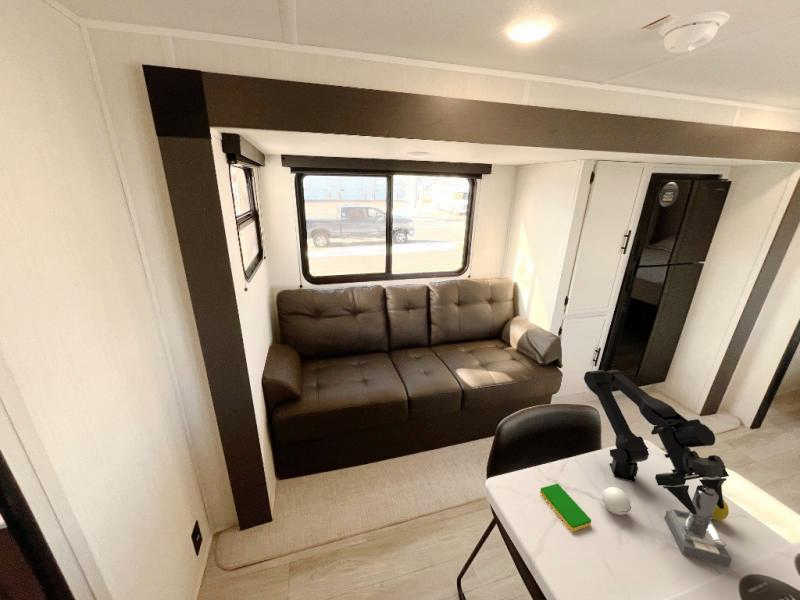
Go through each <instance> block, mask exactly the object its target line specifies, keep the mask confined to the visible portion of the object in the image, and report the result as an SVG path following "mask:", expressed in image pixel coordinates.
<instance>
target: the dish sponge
mask: <svg viewBox="0 0 800 600" xmlns="http://www.w3.org/2000/svg"><path fill="white" fill-rule="evenodd" d="M540 493H541V494H542V495H541V494H540ZM539 494H540V495H541V496H543V497H544V498H545V499H546V500H547V502H548V503H549V504H550V505H549V504H548V503H547V502H546V503H547V504H548V505H549V506H550V508H551V507H552V508H553V509H554V510H553V509H552V508H551V509H552V510H553V511H554V512H555V514H556V513H557V514H556V515H557V516H558V517H559V518H561V519H562V520H563V521H562V520H561V519H560V520H561V521H562V522H563V523H564V525H565V524H566V525H565V526H566V527H567V528H568V530H569V529H570V530H569V531H570V532H573V533H574V532H576V530H577V531H579V529H580V530H583V529H585V527H586V528H589V527H591V524H592V519H591V518H590V517H589V516H588V514H586V512H585V511H584V510H583V509H582V508H581V507H580V506H579V504H578V503H576V501H575V500H573V498H572V497H571V496H570V495H569V494H568V493H567V492H566V491H565V489H563V487H562V486H561V485H560V484H559V483H554V484H550V485H547V486H543V487H540V491H539ZM543 497H542V498H543ZM544 498H543V499H544ZM545 499H544V500H545ZM546 500H545V501H546ZM588 526H589V527H588ZM582 528H583V529H582Z"/></svg>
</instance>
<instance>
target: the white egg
mask: <svg viewBox="0 0 800 600" xmlns="http://www.w3.org/2000/svg"><path fill="white" fill-rule="evenodd" d="M601 495H602V497H601V498H602V502H603V504H604V505H603V506H604V507H605V508H606V509H607V510H608V511H609V512H611V513H613V514H615V515H618V516H624V515H625V514H628V513H629V512H630V511H631V510H632V506H631V500H630V498H629V496H628V494H626V492H624V491H623V490H622V489H620V488H618V487H616V486H615V487H613V486H609V487H607V488H605V489H604V490H603V492H602V494H601Z"/></svg>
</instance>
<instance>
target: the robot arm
mask: <svg viewBox="0 0 800 600" xmlns="http://www.w3.org/2000/svg"><path fill="white" fill-rule="evenodd" d="M583 380H584V383H585V385H586V387H587V388H588V389H589V391H591V392H592V393H593V394H595V395H596V396H597V399H598V400H599V402H600V404H601V407H602V409H603V410H604V413H605V415H606V418H607V420H608V422H609V423H610V425H611V427H612V430H613V432H614V434H615V443H614V444H615V448H612V449H609V456H610V457H611V458H612V461H611V463H609V466H610V470H611V472H612V475H613V477H614V478H615V479H621V480H625V481H630V482H634V483H636V481H637V479H636V478H637V474H638V471H639V466H638V463H641V462H645V461H648V458H649V456H650V454H649V451H648V450H649V447H648V446H647V445H646V443H645V441H644V439H643V437H642V436H641V435H640V436H637V435H636V434H634V433H633V432H632V430H631V428H630V426H629V424H628V422H627V420H626V417H625V416H624V414H623V413H622V410H621V408H620V406H619V404H618V402H617V400H616V398H615V396H614V394H613V392H612V391H613V390H612V389H613V386H614V387H615V388H617V389H618V390H619V391H620V392H621V393H622V394H624V395H625V396H626V397H627V398H628V399H629V400H630V401H631V402H633V403H634V404H635V405H636V406H637V407H638V411H639V413H640V415H641V416H643V418H644V419H645V420H646V421H647V422H648V423H649V424H650V425H652V426H653V429H652V430H651V432H650V434H651V435H658V437H659V439H660V441H661V443H662V445H663V447H664V449H665V452H666V453H664V454H663V455H664V456H665V459H670V461H671V464H672V466H673V469H671V471H672V472H663V473H658V474H657V473H656V474H655V477H654V480H655V481H656V484H657V486H662V488H663V489H665V490H668V492H669V493H671V494H672V495H673V496H674V497H675V498H676V499H678V502H680V503H681V504H682V505H683V506H684V507H685V508H686V509H687V511H688V512H689V511H690V512H691V513H692V514H694V515H696V514H697V512H696V510H695V507H694V505H693V502H692V500H693V499H692V498H691V495H690V494H689V488H690V485H687V484H686V482H687V481H689V480H696V479H699V482H700V483H701V485H708V486H710V487H712V488H713V489H714V490H715V492H716V493H717V494H718V495H719V499H718V502H717V504H716V505H717V506H718V507H719V508H720V509H724V502H723V500H724V496H723V489H722V488H723V487H722V486H723V484H724V482H725V481H727V477H730V475H729V473H728V472H727V470H726V467H727V466H725V463H724V461H723V460H722V458H721V457H720V456H719V455H715V454H711V455H708V457H700V455H699V453H698V452H697V451H696V450H691V448H699V447H709V446H710V447H711V446H714V445H715V443H716V436H715V433H714V432H713V430H712V429H710V428H709V427H708V426H707V425H706V424H704V423H702V422H701V421H700V419H698V418H697V419H689V420H688V419H686V418H685V417H684V416H683V415H681V414H680V413H679V412H678V411H676V409H675V408H674V407H672V405H669V404H668V403H667V402H665V401H663V400H661V399H658V398H656V397H652V396H651V395H649V393H646V392H645V390H643V389H642V388H641V387H639V386H638V385H637V384H636V383H634V382H633V381H632V380H630V379H629V378H628V377H627V376H626V375H624V373H623V372H622V371H621V370H618V369H615V370H614V369H613V370H607V371H605V370H604V369H599V370H590V371H589V370H588V371H586V372H585V373H584V377H583ZM701 478H702V479H701Z"/></svg>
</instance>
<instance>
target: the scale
mask: <svg viewBox="0 0 800 600" xmlns="http://www.w3.org/2000/svg"><path fill="white" fill-rule="evenodd" d="M688 512H689V511H688V510H682V509H678V508H674V507H671V508H670V511H668V510H666V511H665V514H664V518H663V519H664V521H665V523H666V525H667V527H668V529H669V530H670V531H669V532H670V533H671V535H672V537H673V539H674V542H675V543H676V546H677V547H678V549H679V551H680V553H681V555H684V556H686V557H691V558H694V559H698V560H701V561H705V562H709V563H713V564H716V565H720V566H722V567H723V566H724V567H727V568H728V567H730V564H731V561H732V559H733V558H732V556H731V555H730V554H729V552H728V551H727V549H726V545H727V544H726V542H724V540H723V538H722V537H721V535H720V534H719V532H718V531H717V529H716V528H715V526H714V524H713V522H712V520H711V521H710V524H709V527H708V529H707V532H706V535H705V536H699V535H696V534H694V533H693V532H691V531H690V530H689V529H688V528H687V527H686V525H685V521H686V518H687V515H688Z"/></svg>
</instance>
